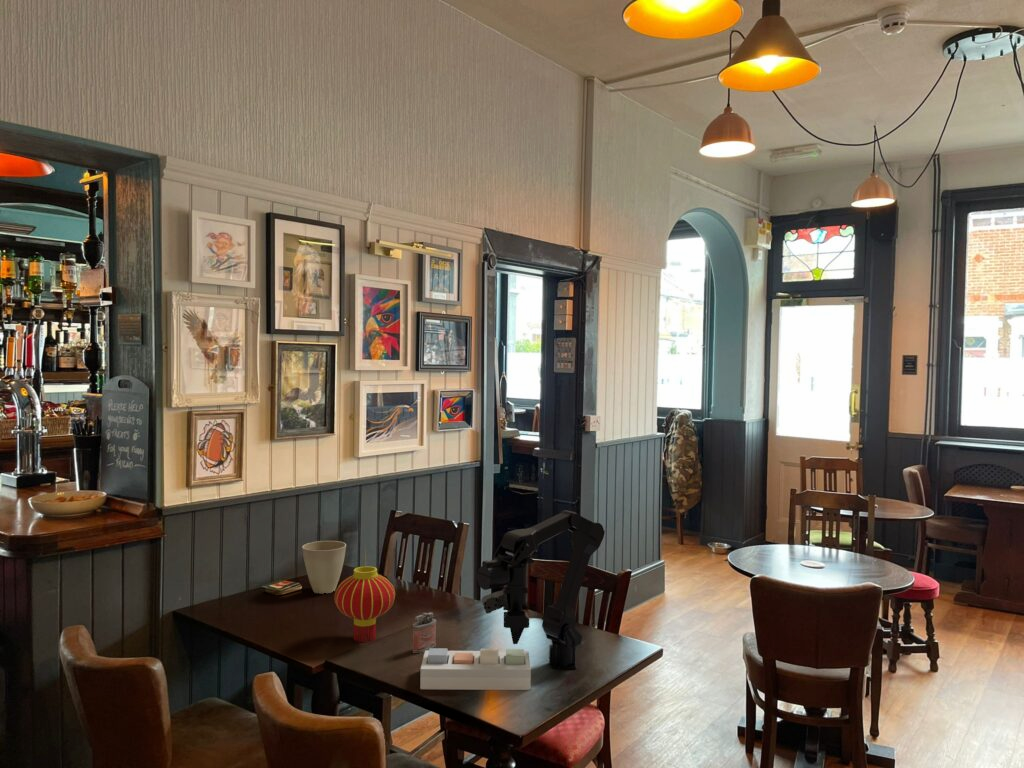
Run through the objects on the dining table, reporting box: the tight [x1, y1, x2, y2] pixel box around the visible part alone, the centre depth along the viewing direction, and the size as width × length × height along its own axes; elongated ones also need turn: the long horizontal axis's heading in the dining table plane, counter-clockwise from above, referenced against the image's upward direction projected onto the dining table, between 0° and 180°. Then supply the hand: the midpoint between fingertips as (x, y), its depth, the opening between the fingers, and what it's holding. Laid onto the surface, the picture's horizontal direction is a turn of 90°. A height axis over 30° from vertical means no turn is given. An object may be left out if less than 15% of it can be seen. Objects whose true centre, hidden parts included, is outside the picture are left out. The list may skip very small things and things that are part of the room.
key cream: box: [479, 648, 499, 664], centre depth 191 cm, size 5×5×2 cm
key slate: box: [428, 647, 449, 664], centre depth 191 cm, size 5×5×2 cm
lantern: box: [334, 550, 396, 643], centre depth 218 cm, size 17×17×30 cm
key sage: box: [505, 648, 525, 665], centre depth 191 cm, size 5×5×2 cm
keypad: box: [419, 650, 532, 691], centre depth 191 cm, size 27×12×5 cm, turn 91°
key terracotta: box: [454, 653, 473, 664], centre depth 191 cm, size 5×5×2 cm
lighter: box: [411, 612, 437, 654], centre depth 211 cm, size 8×3×10 cm, turn 141°
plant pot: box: [301, 540, 347, 595], centre depth 263 cm, size 15×15×16 cm
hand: (515, 643), depth 191 cm, fingers closed
